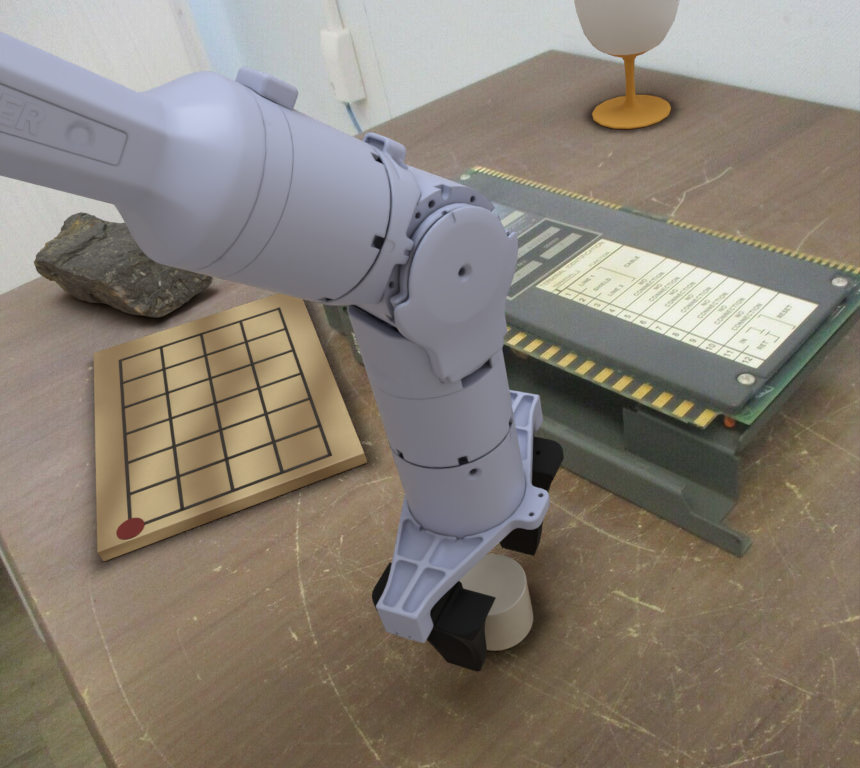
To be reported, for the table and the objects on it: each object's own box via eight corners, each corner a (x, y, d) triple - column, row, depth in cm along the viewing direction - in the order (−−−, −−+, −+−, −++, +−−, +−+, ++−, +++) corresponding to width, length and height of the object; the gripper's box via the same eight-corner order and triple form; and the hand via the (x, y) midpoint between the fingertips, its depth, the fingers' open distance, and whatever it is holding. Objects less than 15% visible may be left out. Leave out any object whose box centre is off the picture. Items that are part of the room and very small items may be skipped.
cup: (576, 137, 93) (562, -26, 82) (584, 95, 102) (572, -57, 91) (683, 131, 91) (684, -38, 80) (682, 88, 100) (682, -69, 89)
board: (103, 562, 54) (96, 551, 54) (98, 361, 72) (92, 352, 71) (367, 462, 58) (364, 451, 57) (301, 295, 76) (297, 285, 75)
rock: (-4, 289, 74) (47, 208, 80) (46, 335, 80) (91, 257, 85) (159, 286, 70) (202, 200, 75) (201, 335, 75) (238, 252, 81)
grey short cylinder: (477, 662, 45) (467, 627, 43) (453, 606, 48) (442, 570, 46) (545, 633, 46) (538, 596, 44) (517, 579, 49) (509, 543, 47)
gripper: (461, 572, 31) (510, 746, 40) (587, 337, 41) (604, 518, 49) (304, 530, 34) (382, 702, 42) (457, 318, 43) (495, 494, 52)
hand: (494, 601), depth 46 cm, fingers open, 7 cm apart
